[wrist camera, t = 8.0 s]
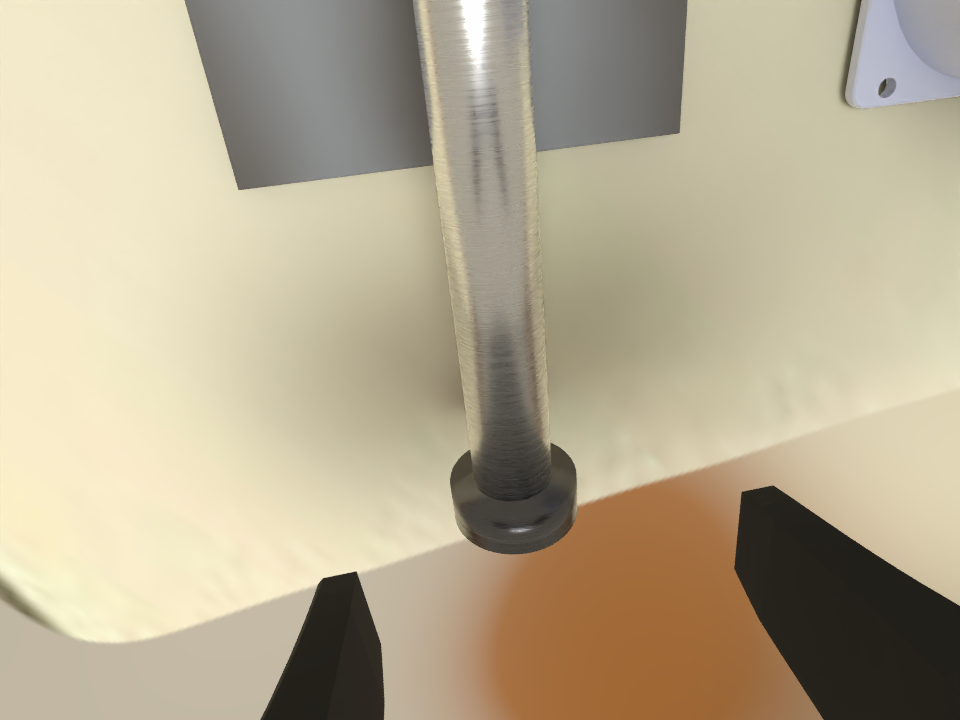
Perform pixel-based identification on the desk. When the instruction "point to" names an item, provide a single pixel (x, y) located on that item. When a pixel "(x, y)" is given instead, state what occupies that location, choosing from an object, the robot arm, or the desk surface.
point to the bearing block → (419, 80)
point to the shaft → (494, 270)
